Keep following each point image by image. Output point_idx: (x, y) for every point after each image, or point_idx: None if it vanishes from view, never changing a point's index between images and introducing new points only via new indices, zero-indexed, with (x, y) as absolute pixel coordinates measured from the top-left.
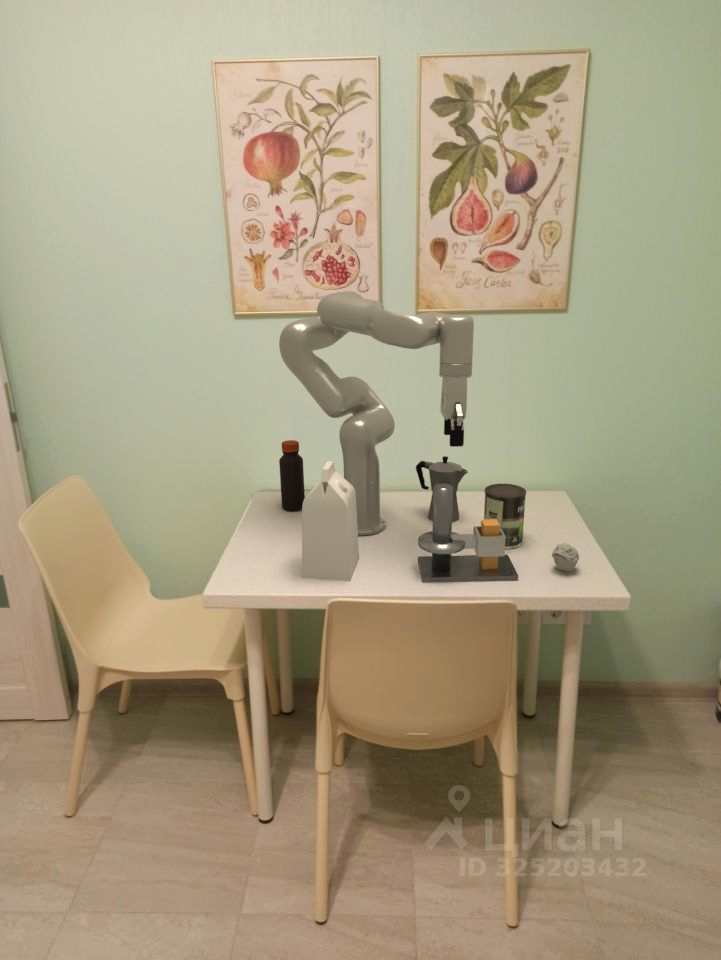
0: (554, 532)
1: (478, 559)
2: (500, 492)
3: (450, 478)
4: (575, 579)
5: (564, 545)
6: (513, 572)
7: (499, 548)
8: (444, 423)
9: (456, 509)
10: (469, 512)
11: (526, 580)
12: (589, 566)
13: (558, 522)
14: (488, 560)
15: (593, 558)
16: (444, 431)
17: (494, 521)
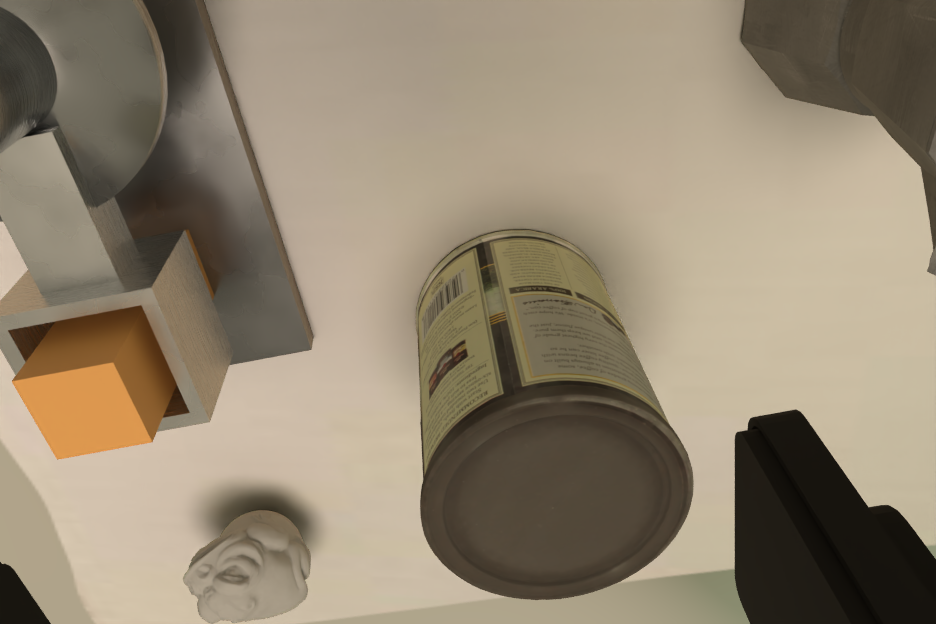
0: None
1: (217, 224)
2: (522, 481)
3: (903, 127)
4: (194, 547)
5: (219, 609)
6: None
7: None
8: (888, 609)
9: (815, 98)
10: (895, 152)
11: None
12: (317, 588)
13: (724, 520)
14: None
15: (389, 601)
16: (781, 458)
17: (109, 431)
